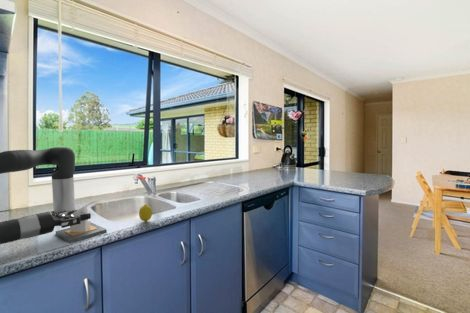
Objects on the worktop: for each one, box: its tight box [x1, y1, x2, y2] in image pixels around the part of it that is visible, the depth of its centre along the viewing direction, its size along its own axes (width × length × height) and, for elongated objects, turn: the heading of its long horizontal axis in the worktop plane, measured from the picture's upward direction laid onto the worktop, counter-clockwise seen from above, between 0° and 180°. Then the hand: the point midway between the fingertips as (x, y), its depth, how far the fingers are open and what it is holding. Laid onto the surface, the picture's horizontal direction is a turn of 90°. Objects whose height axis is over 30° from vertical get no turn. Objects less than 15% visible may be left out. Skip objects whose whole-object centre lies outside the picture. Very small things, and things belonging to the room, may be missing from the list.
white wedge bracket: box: [69, 205, 92, 232], centre depth 96 cm, size 4×10×9 cm
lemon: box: [138, 204, 153, 223], centre depth 109 cm, size 6×6×8 cm
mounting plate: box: [54, 221, 108, 244], centre depth 96 cm, size 14×13×1 cm
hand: (85, 213), depth 97 cm, fingers open, 8 cm apart
